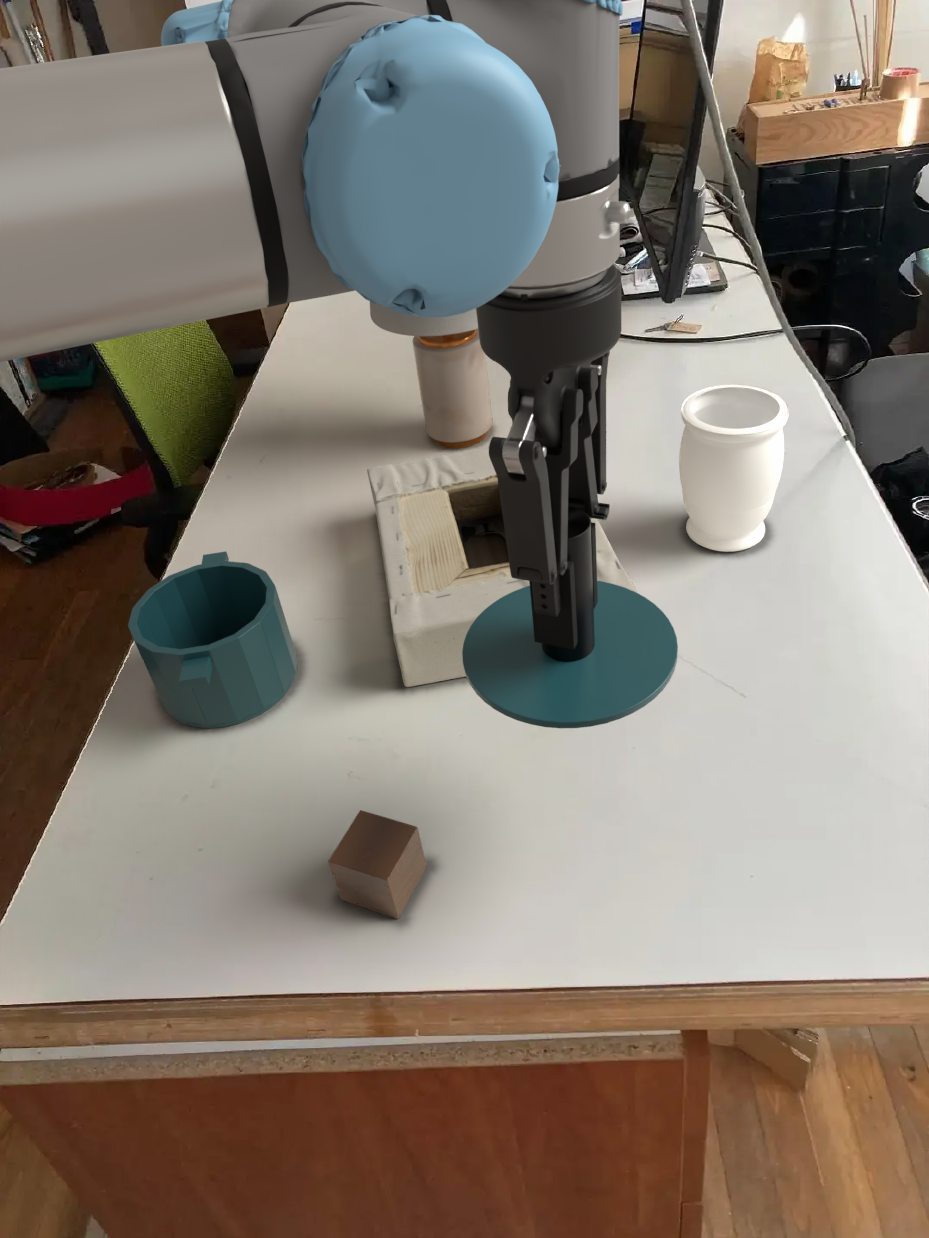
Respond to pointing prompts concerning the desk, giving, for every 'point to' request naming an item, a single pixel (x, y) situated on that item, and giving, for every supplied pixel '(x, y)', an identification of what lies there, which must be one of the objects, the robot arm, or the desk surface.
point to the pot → (215, 642)
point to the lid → (572, 651)
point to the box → (448, 556)
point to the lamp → (446, 373)
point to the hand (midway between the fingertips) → (566, 620)
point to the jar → (731, 463)
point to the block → (378, 863)
